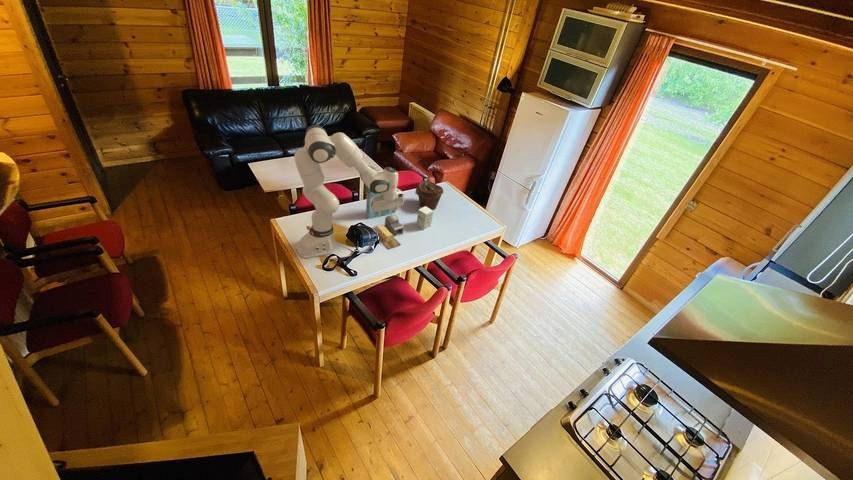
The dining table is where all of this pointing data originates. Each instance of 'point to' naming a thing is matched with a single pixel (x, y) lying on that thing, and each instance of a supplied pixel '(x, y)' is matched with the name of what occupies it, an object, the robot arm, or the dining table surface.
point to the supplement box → (424, 217)
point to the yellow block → (384, 233)
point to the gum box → (369, 211)
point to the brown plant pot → (428, 194)
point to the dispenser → (393, 224)
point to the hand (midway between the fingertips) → (387, 214)
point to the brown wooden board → (389, 242)
